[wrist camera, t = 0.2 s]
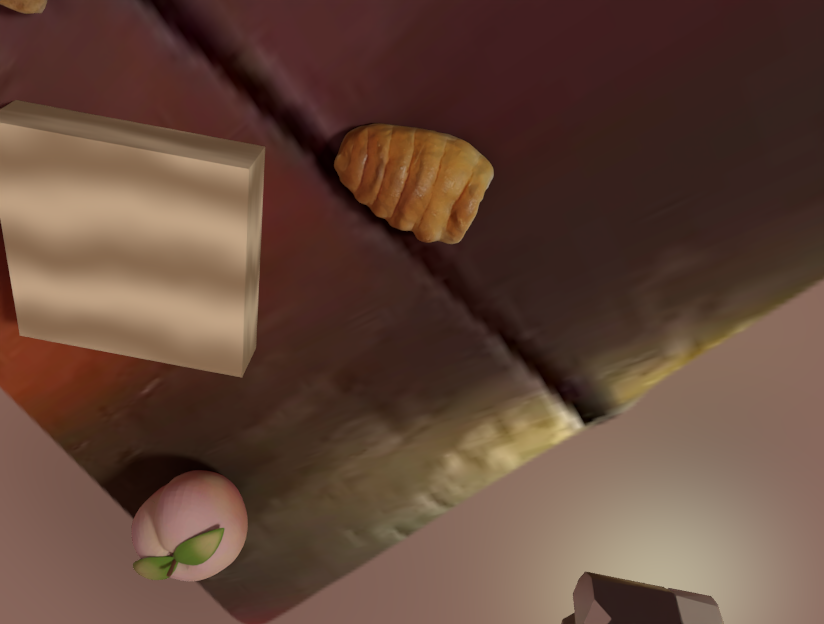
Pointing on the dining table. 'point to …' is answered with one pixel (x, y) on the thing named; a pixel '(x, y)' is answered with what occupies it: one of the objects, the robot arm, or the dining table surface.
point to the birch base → (132, 236)
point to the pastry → (415, 178)
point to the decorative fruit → (189, 528)
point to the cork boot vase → (25, 5)
